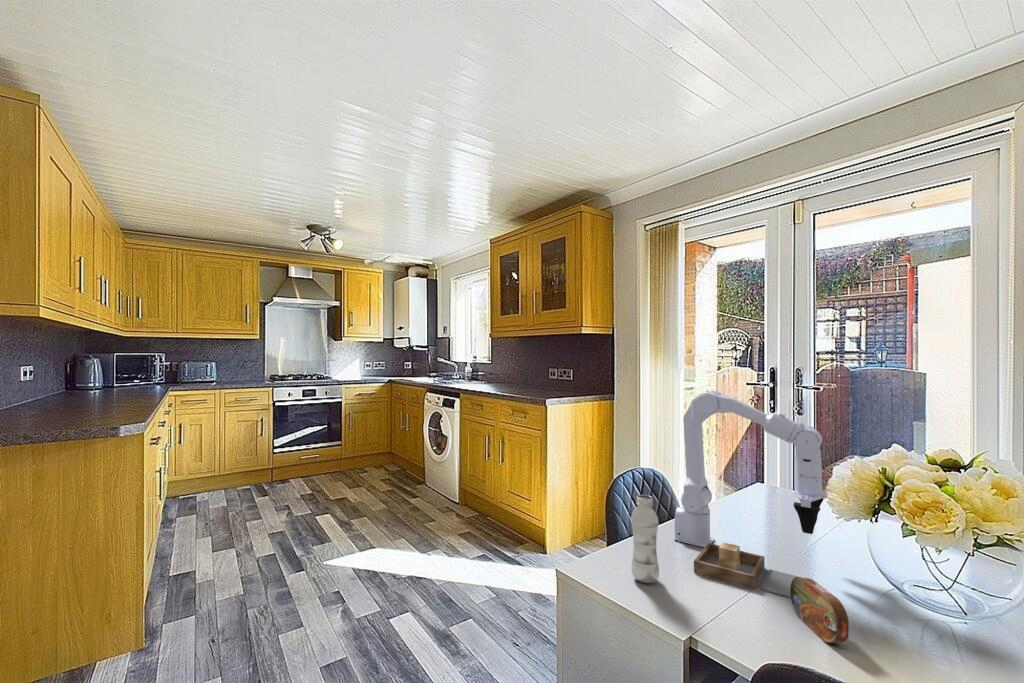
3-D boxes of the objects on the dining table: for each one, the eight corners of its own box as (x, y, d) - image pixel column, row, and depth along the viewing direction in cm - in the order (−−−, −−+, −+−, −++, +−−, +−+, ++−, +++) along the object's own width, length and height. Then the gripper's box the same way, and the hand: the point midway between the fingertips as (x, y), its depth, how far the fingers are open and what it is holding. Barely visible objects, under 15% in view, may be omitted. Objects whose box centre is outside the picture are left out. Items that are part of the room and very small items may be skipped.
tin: (789, 608, 100) (788, 569, 100) (803, 608, 100) (803, 569, 100) (835, 653, 85) (834, 607, 85) (853, 654, 85) (852, 607, 85)
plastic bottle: (645, 589, 108) (644, 503, 108) (625, 577, 114) (625, 495, 114) (665, 583, 111) (664, 499, 111) (645, 571, 117) (644, 491, 117)
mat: (760, 589, 108) (760, 588, 108) (769, 570, 117) (769, 569, 117) (800, 601, 103) (800, 599, 103) (806, 580, 112) (806, 578, 112)
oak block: (719, 571, 117) (718, 547, 117) (723, 565, 120) (722, 542, 120) (736, 576, 114) (736, 551, 115) (740, 570, 118) (739, 546, 118)
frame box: (693, 572, 116) (693, 560, 116) (708, 554, 127) (708, 543, 127) (754, 589, 108) (753, 576, 108) (764, 568, 118) (764, 556, 118)
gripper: (824, 484, 111) (825, 541, 111) (829, 471, 122) (830, 523, 122) (790, 479, 115) (791, 534, 115) (798, 467, 127) (798, 517, 126)
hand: (809, 528), depth 119 cm, fingers open, 7 cm apart
